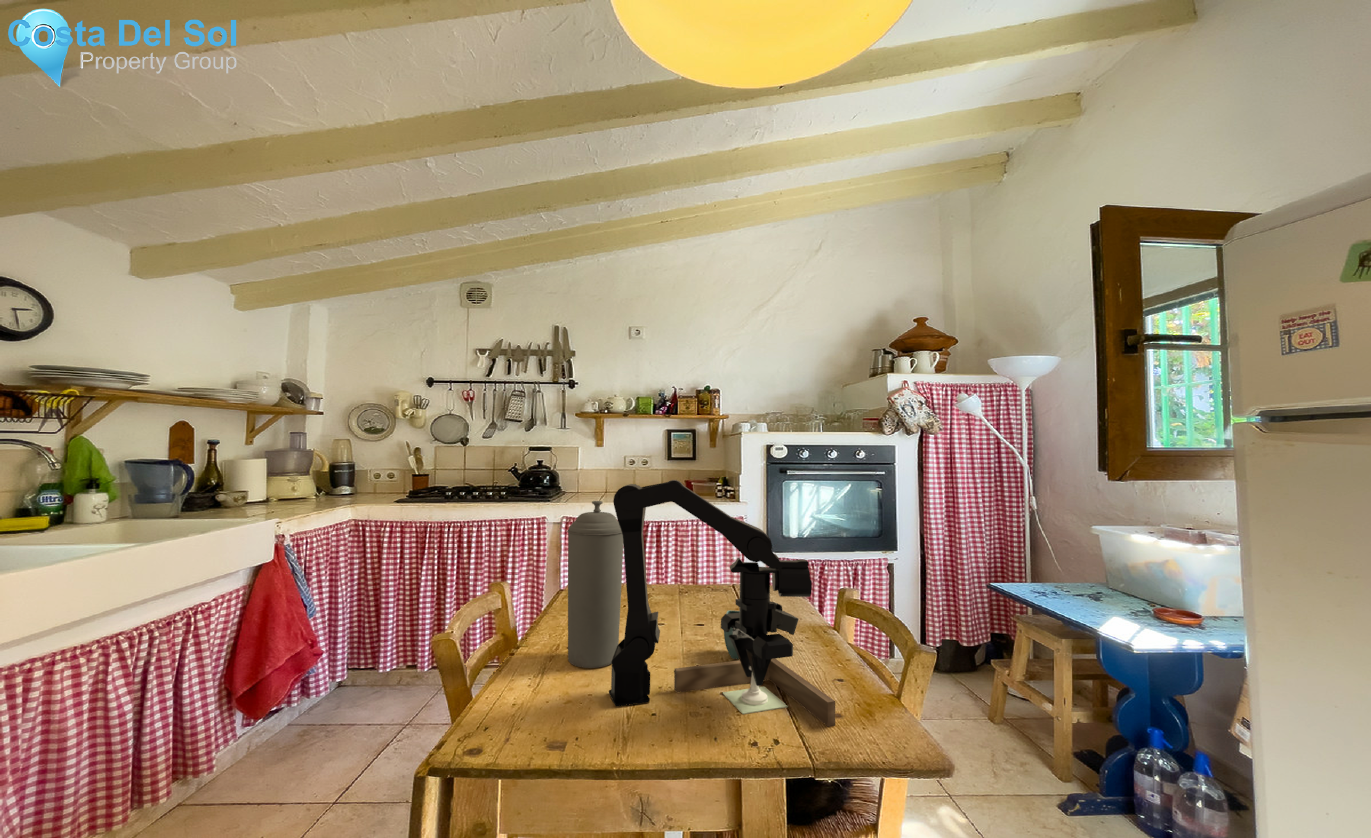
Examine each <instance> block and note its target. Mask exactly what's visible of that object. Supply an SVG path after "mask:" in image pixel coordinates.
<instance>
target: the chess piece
mask: <svg viewBox="0 0 1371 838" xmlns="http://www.w3.org/2000/svg"><path fill="white" fill-rule="evenodd" d="M749 669H750V670H751V671H752V669H751V666H750V667H749ZM759 687H760V686H757V685H756V683H755V679H754V676H753V673H752V677H751V682H750V686H749V688H747V689H748V690H747V691H744V692H743V693H742V697H741V699H742V701H743V702H745V703H747V704H751V705H762V704H765V703H767V701H768V699H767V695H766V693H764V692H762V691H761V690H760V689H759Z"/></svg>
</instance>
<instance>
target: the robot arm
mask: <svg viewBox="0 0 1371 838" xmlns="http://www.w3.org/2000/svg"><path fill="white" fill-rule="evenodd" d="M612 502H613V507H614V510H615V517H616V519H617V521H618V523H619V525H620V528H621V531H622V535H623V557H624V558H623V559H624V572H625V584H626V599H627V614H626V622H625V630H624V636H623V637H624V638H623V639H622V640H621V641H620V642H619V644H618V645H617V648H616V651H615V653H614V656H613V659H612V661H611V663H612V664H611V672H610V673H611V676H610V677H611V679H610V680H611V681H610V683H611V684H610V689H609V690H608V695H609V696H610V699H611V700H612V703H613V704H614V706H615V707H616V708H617V707H618V708H619V707H625V706H633V705H638V704H639V705H641V704H647V703H650V702H651V698H650V697H649V695H650V694H651V671H650V670H649V667H648V666H649V665H648V663H647V662H646V661H647V660H649V659H650V658H651V657H652V655H653V654H654V651H655V649H656V644H659V641H660V634H661V629H660V628H659V624H658V623H659V622H658V621H659V620H658V619H659V611H653V612H652V610H651V607H650V604H649V597H648V583H647V571H646V570H647V569H646V568H647V567H646V557H645V554H646V553H645V543H644V542H645V541H644V526H645V518H646V509H647V508H649V507H653V506H658V505H661V504H665V503H669V502H670V503H671V502H672V503H674V504H676V505H677V506H678V507H680V508H682V509H683V510H684V511H686V512H687V513H689V514H690V515H692V516H694V517H695V518H697V519H698V520H699V521H701V522H702V523H705V525H707V526H709V527H710V528H712V529H713V530H715V531H716V532H718V533H719V534H720V535H722V536H723V537H724V538H725V539H726V540H727V541H728V542H729V543H731V545H732V546H733V547H734V548H735V549H736V550H738V551H739V552H740V554H742V555H743V557H745V558H746V559H747V560H749V562H747V561H745V562H744V561H742V559H741V558H740V557H737V558H736V559H735V561H734V562H733V563H731V564H730V565H729V569H730V572H731V573H733V574H735V573H736V574H737V573H739V598H736V599H735V606H737V607H738V608H739V610H738V611H739V613H730V614H726V613H724V615H723V616H722V617H721V618H720V629H721V630H723V632H724V631H725V632H729V630H730V627H731V628H733V635H729V638H730V640H731V642H732V644H733V646H734V648H735V651H736V653H737V655H738V658H739V659H738V661H739V660H740V662H741V665H742V667H743V670H744V672H745V674H746V676H747V677H752V673H753V676H754V679H755V683H756V685H757V686H759V687H762V685H763V684H764V678H765V675H766V672H767V669H768V666H769V664H770V661H771V659H780V658H781V659H782V658H791V657H793V656H794V644H793V642H792V641H791V640H790V639H789V638H787V637H785V635H782V634H780V633H777V631H778V630H779V631H783V632H787V633H788V634H789V635H793V636H794V635H795V633H796V630H797V626H798V623H799V621H800V620H799V617H798V616H797V617H796V616H795V615H794V614H791V613H789V612H787V611H784V610H783V605H781V604H779V603H778V602H776V601H771V585H772V590H773V592H777V593H778V596H779V597H780V598H781V597H783V598H784V597H787V598H789V597H792V598H795V597H796V598H810V597H811V595H812V589H813V585H812V584H813V582H812V579H811V572H810V568H809V561H807V559H801V558H800V559H795V560H794V559H793V560H792V559H791V560H788V559H780V557H779V556H778V555H777V554H776V553H774V552H773V549H772V548H773V544H772V540H771V538H770V536H769V535H768V534H767V533H765V531H764V530H762V529H761V528H760V527H757V526H754V525H753V524H750V523H748V522H745V521H743V520H740V519H738V518H735V517H733V516H730V514H727V513H726V512H725V511H723V510H722V509H720V508H719V507H717V506H716V505H714V504H712V503H711V502H709V500H708V501H707V499H705V498H703V497H701V495H699V494H698V493H696V492H694V491H693V490H691V489H689V488H688V487H686V486H685V485H684V484H683V483H682V482H681V480H678V479H670V480H668V481H666V482H661V483H655V484H650V485H645V486H640V485H638V484H636V483H635V484H634V483H630V484H629V483H628V484H626V485H623V486H621V487H620V488H618V490H617V491H616V492H615V493H614V495H613V500H612ZM760 562H761V563H762V564H764V565H765V566H760V565H759V563H760ZM768 633H771V634H768ZM772 633H773V634H772ZM750 666H751V669H752V671H751V670H750V669H749V667H750Z"/></svg>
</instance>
